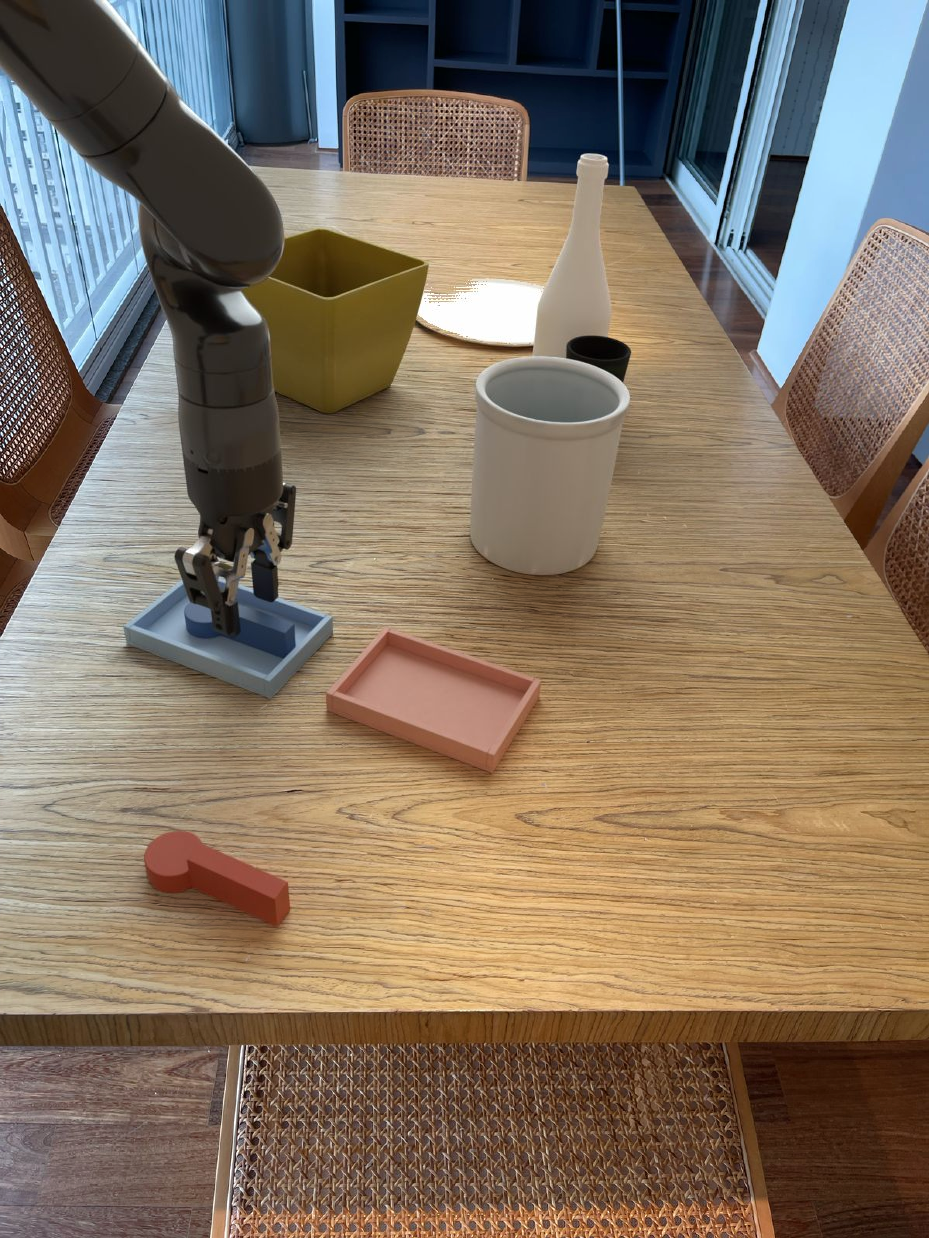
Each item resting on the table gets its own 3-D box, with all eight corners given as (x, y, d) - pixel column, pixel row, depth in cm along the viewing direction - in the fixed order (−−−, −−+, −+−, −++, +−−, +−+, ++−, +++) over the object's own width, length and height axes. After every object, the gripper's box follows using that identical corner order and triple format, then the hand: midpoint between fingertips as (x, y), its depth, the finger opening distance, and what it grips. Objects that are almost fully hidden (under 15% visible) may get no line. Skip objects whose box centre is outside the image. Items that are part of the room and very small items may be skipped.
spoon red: (299, 896, 69) (298, 868, 67) (267, 941, 66) (264, 913, 64) (171, 839, 72) (166, 811, 70) (135, 879, 69) (128, 851, 67)
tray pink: (539, 697, 87) (541, 679, 85) (492, 773, 79) (494, 755, 78) (384, 643, 91) (384, 626, 90) (326, 710, 84) (325, 692, 83)
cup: (542, 435, 126) (553, 344, 118) (583, 419, 130) (596, 330, 123) (587, 459, 121) (601, 366, 114) (628, 442, 126) (644, 351, 118)
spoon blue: (303, 642, 90) (302, 616, 88) (278, 667, 87) (277, 641, 85) (203, 607, 93) (200, 580, 91) (176, 630, 90) (173, 603, 88)
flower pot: (428, 386, 135) (433, 260, 125) (331, 433, 123) (328, 298, 112) (324, 346, 144) (321, 226, 133) (224, 387, 131) (212, 258, 121)
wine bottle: (610, 392, 137) (647, 157, 119) (578, 416, 131) (612, 171, 112) (550, 373, 141) (577, 143, 123) (515, 395, 134) (539, 156, 116)
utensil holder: (622, 575, 102) (652, 419, 91) (480, 585, 99) (494, 425, 89) (580, 501, 113) (603, 354, 103) (452, 508, 111) (461, 357, 100)
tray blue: (333, 633, 92) (332, 616, 91) (271, 699, 84) (269, 681, 83) (196, 585, 97) (194, 568, 95) (126, 643, 89) (122, 626, 88)
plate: (595, 293, 168) (596, 285, 167) (587, 361, 145) (588, 353, 144) (424, 274, 170) (424, 267, 170) (389, 338, 147) (389, 330, 147)
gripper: (244, 396, 84) (258, 563, 94) (130, 469, 73) (160, 648, 84) (321, 417, 82) (326, 586, 92) (215, 496, 71) (235, 676, 81)
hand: (247, 614), depth 88 cm, fingers open, 5 cm apart
